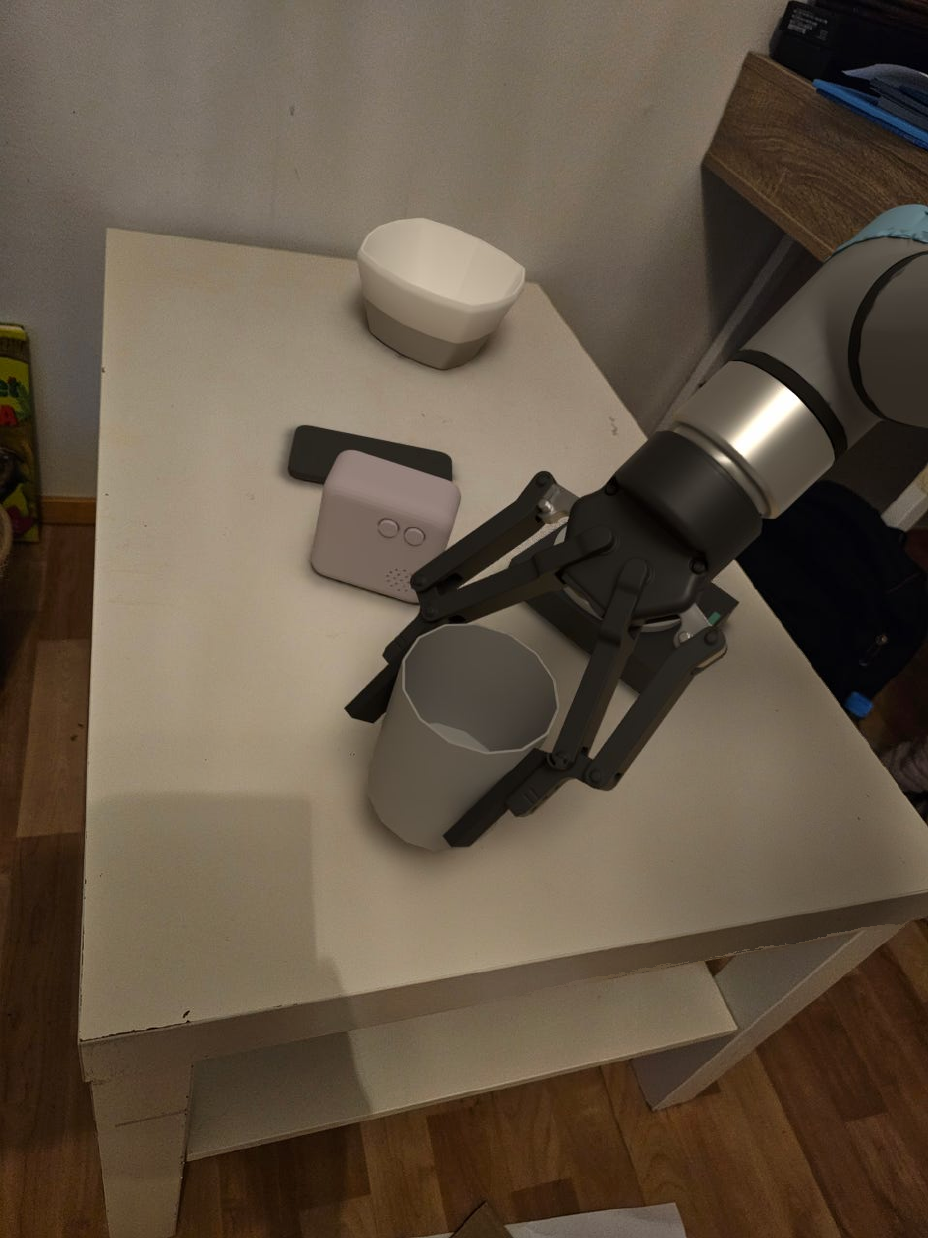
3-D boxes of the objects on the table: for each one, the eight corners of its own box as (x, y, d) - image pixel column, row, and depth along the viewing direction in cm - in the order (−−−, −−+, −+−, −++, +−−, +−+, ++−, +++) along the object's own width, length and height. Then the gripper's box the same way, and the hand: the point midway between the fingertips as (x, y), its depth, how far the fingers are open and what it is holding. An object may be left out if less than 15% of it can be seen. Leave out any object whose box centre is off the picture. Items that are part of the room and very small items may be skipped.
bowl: (319, 328, 92) (331, 245, 85) (399, 281, 104) (415, 205, 97) (457, 401, 89) (481, 322, 82) (523, 344, 101) (548, 270, 95)
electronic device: (304, 577, 66) (321, 480, 59) (320, 540, 70) (338, 444, 63) (424, 615, 67) (454, 523, 60) (435, 576, 70) (465, 485, 63)
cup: (507, 857, 48) (567, 763, 41) (365, 845, 46) (402, 745, 39) (497, 735, 53) (548, 633, 46) (370, 720, 52) (402, 612, 45)
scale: (723, 623, 76) (745, 593, 73) (648, 701, 67) (670, 670, 64) (587, 522, 81) (603, 491, 78) (501, 582, 72) (515, 549, 69)
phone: (297, 421, 78) (452, 453, 81) (296, 429, 79) (450, 459, 82) (286, 470, 73) (452, 501, 76) (285, 477, 74) (450, 508, 77)
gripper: (874, 631, 42) (551, 930, 44) (591, 395, 51) (332, 655, 53) (891, 591, 35) (508, 948, 37) (561, 327, 44) (265, 628, 46)
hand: (405, 776), depth 45 cm, fingers closed on cup, 8 cm apart
